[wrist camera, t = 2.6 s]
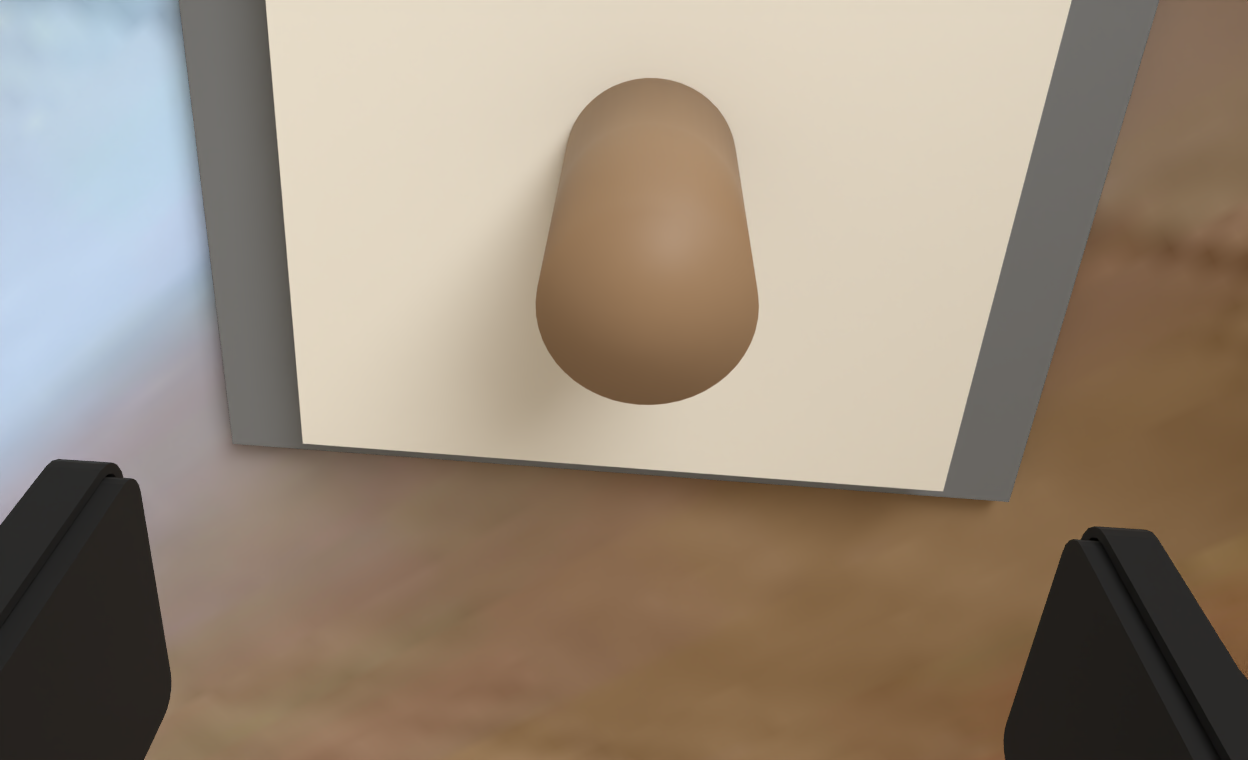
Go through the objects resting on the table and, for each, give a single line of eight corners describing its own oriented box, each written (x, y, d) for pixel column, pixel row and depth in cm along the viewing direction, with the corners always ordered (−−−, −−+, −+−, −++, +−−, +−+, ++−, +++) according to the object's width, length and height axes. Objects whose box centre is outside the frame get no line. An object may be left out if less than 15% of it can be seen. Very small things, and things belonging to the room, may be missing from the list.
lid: (1105, -231, 19) (1311, -189, 13) (932, 459, 27) (1013, 695, 20) (262, -301, 19) (74, -291, 13) (317, 414, 26) (211, 637, 20)
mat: (1231, -291, 19) (1246, -290, 19) (1002, 486, 28) (1009, 501, 27) (146, -382, 19) (132, -383, 19) (240, 429, 27) (232, 443, 27)
